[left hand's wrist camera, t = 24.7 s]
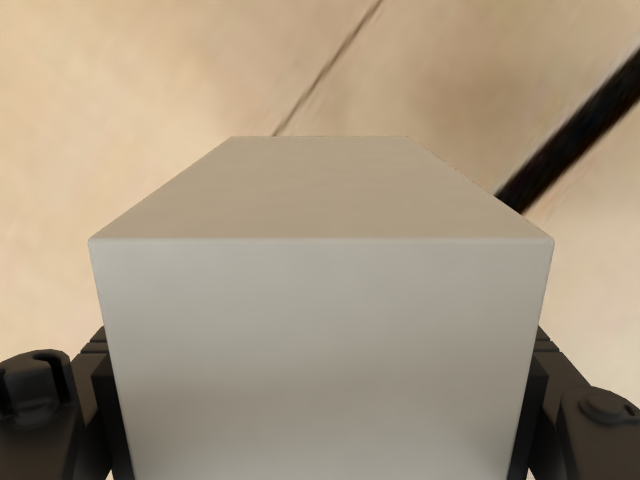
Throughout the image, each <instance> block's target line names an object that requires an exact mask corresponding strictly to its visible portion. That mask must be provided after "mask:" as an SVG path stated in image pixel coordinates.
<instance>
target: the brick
mask: <svg viewBox="0 0 640 480" xmlns="http://www.w3.org/2000/svg"><path fill="white" fill-rule="evenodd" d="M88 248H89V253H90V258H91V263H92V268H93V273H94V278H95V283H96V288H97V293H98V298H99V303H100V308H101V313H102V318H103V323H104V328H105V333H106V338H107V343H108V348H109V353H110V358H111V363H112V368H113V373H114V378H115V383H116V388H117V392H118V397H119V402H120V407H121V412H122V417H123V422H124V427H125V432H126V437H127V442H128V447H129V452H130V457H131V462H132V467H133V472H134V477H135V480H507V476H508V471H509V466H510V462H511V457H512V452H513V447H514V442H515V437H516V432H517V427H518V422H519V417H520V412H521V407H522V402H523V397H524V392H525V388H526V383H527V378H528V373H529V368H530V363H531V358H532V353H533V348H534V343H535V338H536V333H537V328H538V323H539V318H540V314H541V309H542V304H543V299H544V294H545V289H546V284H547V279H548V274H549V269H550V264H551V259H552V254H553V249H554V239H553V237H551V236H550V235H548V234H547V233H545V232H544V231H543V230H541V229H540V228H538V227H537V226H535V225H534V224H533V223H531V222H530V221H528V220H527V219H525V218H524V217H523V216H521V215H520V214H518V213H517V212H515V211H514V210H513V209H511V208H510V207H508V206H507V205H505V204H504V203H503V202H501V201H500V200H498V199H497V198H495V197H494V196H493V195H491V194H490V193H488V192H487V191H486V190H484V189H483V188H481V187H480V186H478V185H477V184H476V183H474V182H473V181H471V180H470V179H468V178H467V177H466V176H464V175H463V174H461V173H460V172H458V171H457V170H456V169H454V168H453V167H451V166H450V165H448V164H447V163H446V162H444V161H443V160H441V159H440V158H438V157H437V156H436V155H434V154H433V153H431V152H430V151H428V150H427V149H426V148H424V147H423V146H421V145H420V144H418V143H417V142H416V141H414V140H413V139H411V138H410V137H230V138H229V139H227V140H226V141H225V142H223V143H222V144H220V145H219V146H218V147H216V148H215V149H213V150H212V151H211V152H209V153H208V154H206V155H205V156H204V157H202V158H201V159H199V160H198V161H197V162H195V163H194V164H192V165H191V166H190V167H188V168H187V169H185V170H184V171H183V172H181V173H180V174H178V175H177V176H176V177H174V178H173V179H171V180H170V181H169V182H167V183H166V184H164V185H163V186H162V187H160V188H159V189H157V190H156V191H155V192H153V193H152V194H150V195H149V196H148V197H146V198H145V199H143V200H142V201H141V202H139V203H138V204H136V205H135V206H134V207H132V208H131V209H129V210H128V211H127V212H125V213H124V214H122V215H121V216H120V217H118V218H117V219H115V220H114V221H113V222H111V223H110V224H108V225H107V226H106V227H104V228H103V229H101V230H100V231H99V232H97V233H96V234H94V235H93V236H92V237H90V238H89V240H88Z"/></svg>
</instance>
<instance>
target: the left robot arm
mask: <svg viewBox="0 0 640 480" xmlns="http://www.w3.org/2000/svg"><path fill="white" fill-rule="evenodd" d="M529 468H530V470H531V472H532V474H533V476H534V478H535V480H640V409H639V408H637V407H636V406H635V405H633V404H632V403H631V402H629V401H628V400H627V399H625V398H623V397H621V396H619V395H617V394H615V393H613V392H611V391H608V390H604V389H601V388H598V387H593V386H591V385H590V384H589V383H588V382H587V380H586V379H585V378H584V377H583V376H582V375H581V374H580V372H579V371H578V370H577V369H576V368H575V367H574V366H573V364H572V363H571V362H570V361H569V360H568V359H567V357H566V356H565V355H564V354H563V353H562V352H560V351H559V348H558V347H557V346H556V345H555V344H554V342H553V341H550V338H549V337H548V336H547V334H546V333H545V332H544V331H543V330H542V329H541V328H540V326H539V325H538V328H537V333H536V338H535V343H534V348H533V353H532V358H531V363H530V368H529V373H528V378H527V383H526V388H525V392H524V397H523V402H522V407H521V412H520V417H519V422H518V427H517V432H516V437H515V442H514V447H513V452H512V457H511V462H510V466H509V471H508V476H507V480H526V477H527V473H528V469H529ZM110 470H112V475H113V479H114V480H135V477H134V472H133V467H132V462H131V457H130V452H129V447H128V442H127V437H126V432H125V427H124V422H123V417H122V412H121V407H120V402H119V397H118V392H117V388H116V383H115V378H114V373H113V368H112V363H111V358H110V353H109V348H108V343H107V338H106V333H105V328H104V326H102V327H101V328H100V329H99V330H98V331H97V332H96V334H95V335H94V336H93V337H92V338H91V339H90V343H87V344H86V345H85V346H84V347H83V349H82V350H81V353H80V354H77V356H76V357H75V358H74V359H73V360H72V361H71V363H70V358H69V356H68V355H67V354H65V353H64V352H63V351H58V350H53V349H45V350H35V351H31V352H27V353H23V354H19V355H16V356H14V357H12V358H9V359H7V360H5V361H2V362H1V363H0V480H106V478H107V476H108V474H109V472H110Z"/></svg>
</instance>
